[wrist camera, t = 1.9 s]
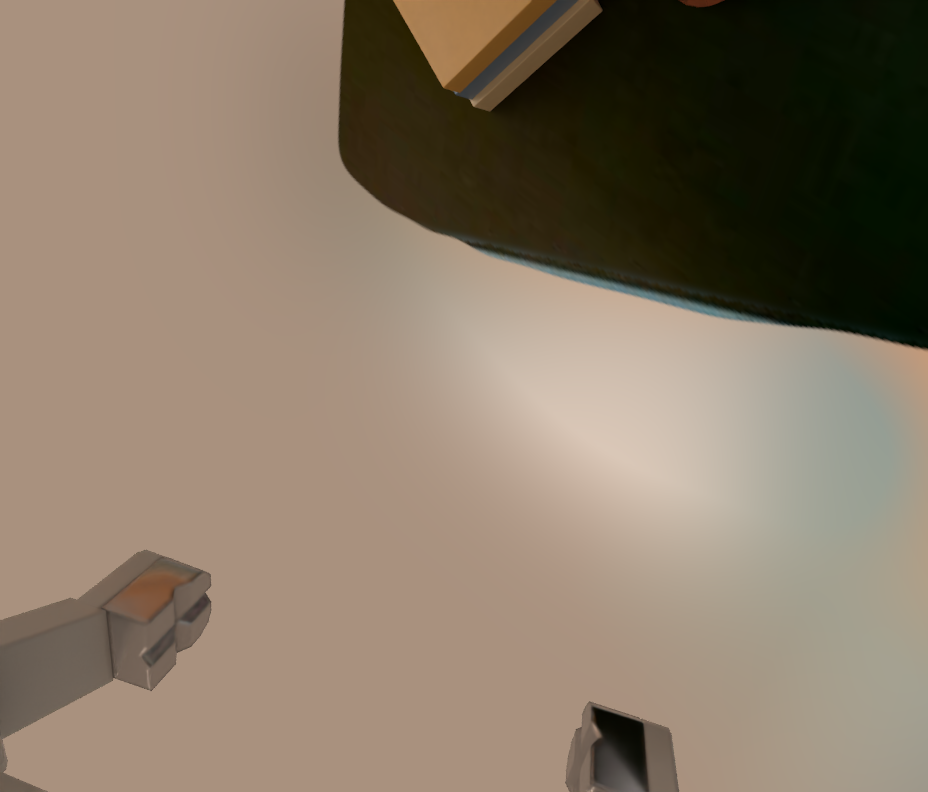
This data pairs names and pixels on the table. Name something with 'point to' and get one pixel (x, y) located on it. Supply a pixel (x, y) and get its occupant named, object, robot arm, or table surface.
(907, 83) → the table surface
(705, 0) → the cup
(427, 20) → the book stack
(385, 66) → the table surface
